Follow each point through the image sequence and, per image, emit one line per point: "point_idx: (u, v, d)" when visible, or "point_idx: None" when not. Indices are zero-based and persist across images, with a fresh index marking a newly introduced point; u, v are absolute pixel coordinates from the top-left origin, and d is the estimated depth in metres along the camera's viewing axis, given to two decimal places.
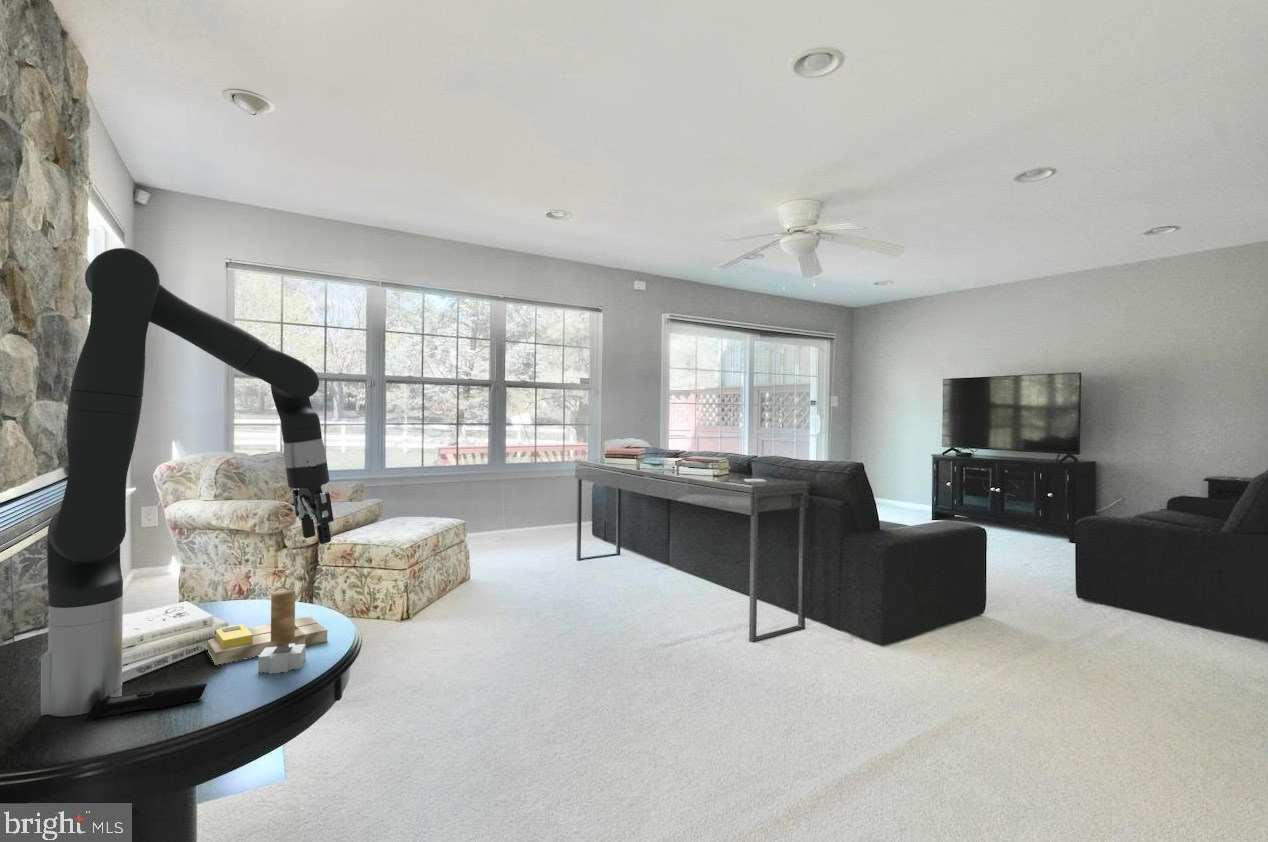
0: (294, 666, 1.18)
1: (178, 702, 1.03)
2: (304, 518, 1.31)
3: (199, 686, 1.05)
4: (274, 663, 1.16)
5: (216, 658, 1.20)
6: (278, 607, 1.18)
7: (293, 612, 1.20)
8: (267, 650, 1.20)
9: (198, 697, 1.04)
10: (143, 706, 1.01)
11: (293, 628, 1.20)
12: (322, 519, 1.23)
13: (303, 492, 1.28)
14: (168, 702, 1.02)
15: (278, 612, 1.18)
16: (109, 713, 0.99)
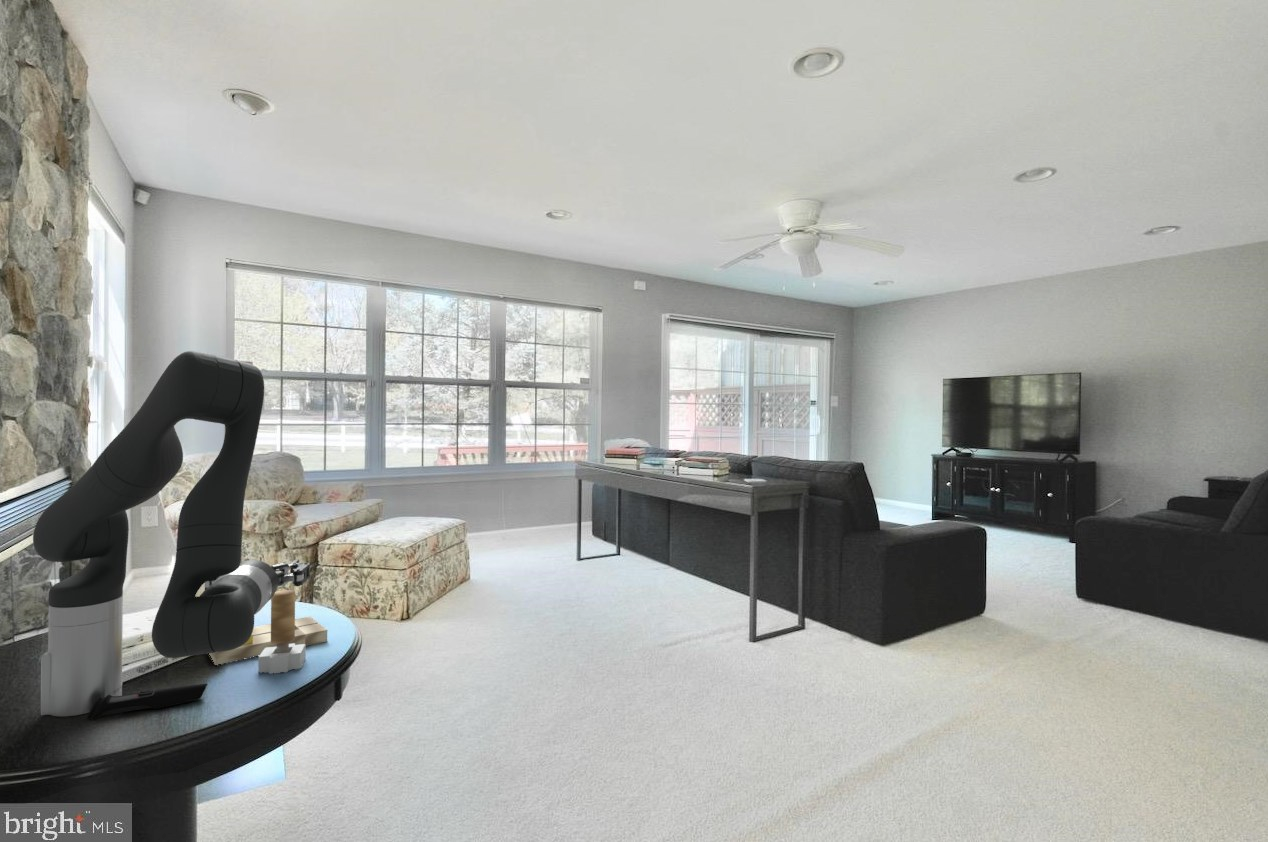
0: (294, 666, 1.18)
1: (178, 702, 1.03)
2: None
3: (199, 686, 1.05)
4: (274, 663, 1.16)
5: (216, 658, 1.20)
6: (278, 607, 1.18)
7: (293, 612, 1.20)
8: (267, 650, 1.20)
9: (198, 697, 1.04)
10: (144, 705, 1.01)
11: (293, 628, 1.20)
12: None
13: None
14: (168, 702, 1.02)
15: (278, 612, 1.18)
16: (110, 712, 0.99)
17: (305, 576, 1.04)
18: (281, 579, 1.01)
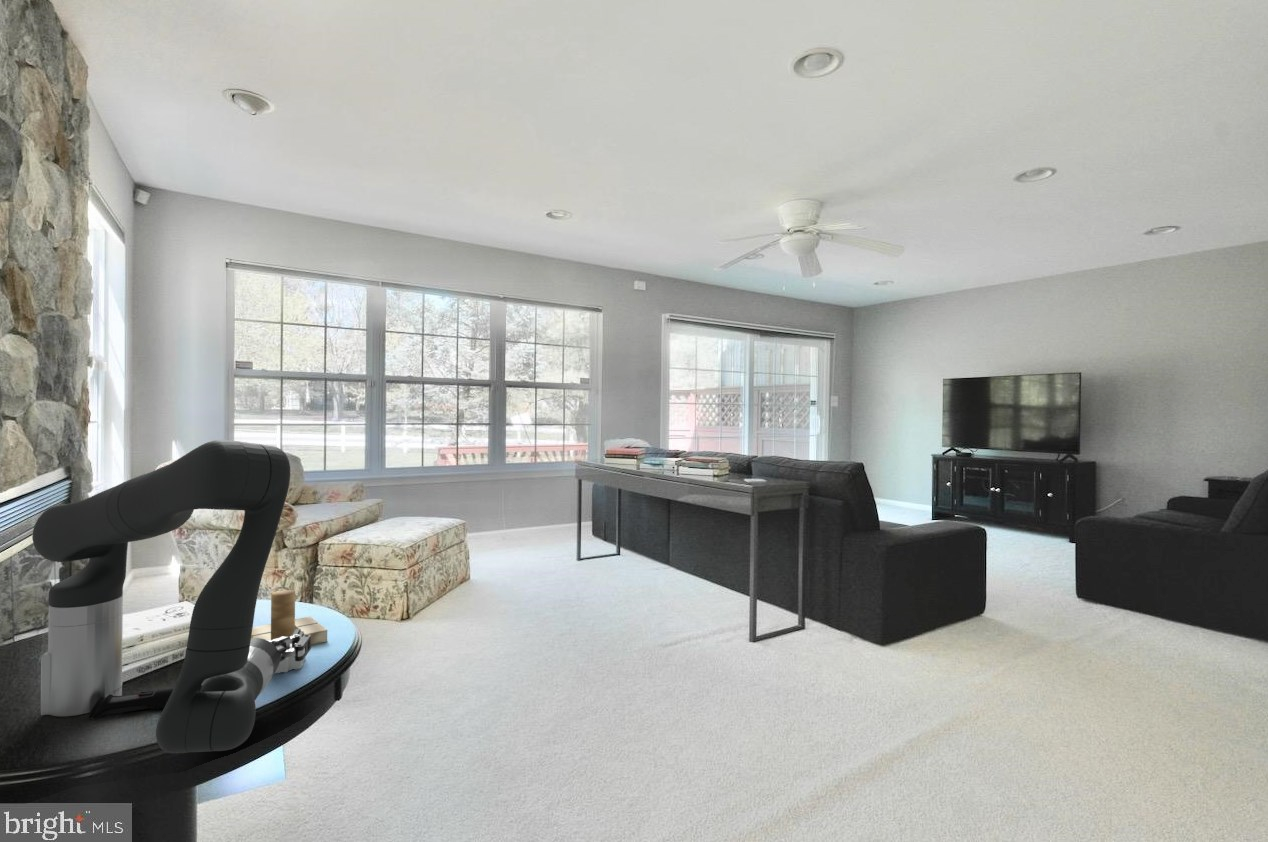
0: (294, 666, 1.18)
1: None
2: None
3: None
4: None
5: None
6: (278, 607, 1.18)
7: (293, 612, 1.20)
8: None
9: None
10: (144, 706, 1.01)
11: (293, 628, 1.20)
12: None
13: None
14: None
15: (278, 612, 1.18)
16: (110, 712, 1.00)
17: (306, 649, 1.07)
18: (283, 655, 1.03)
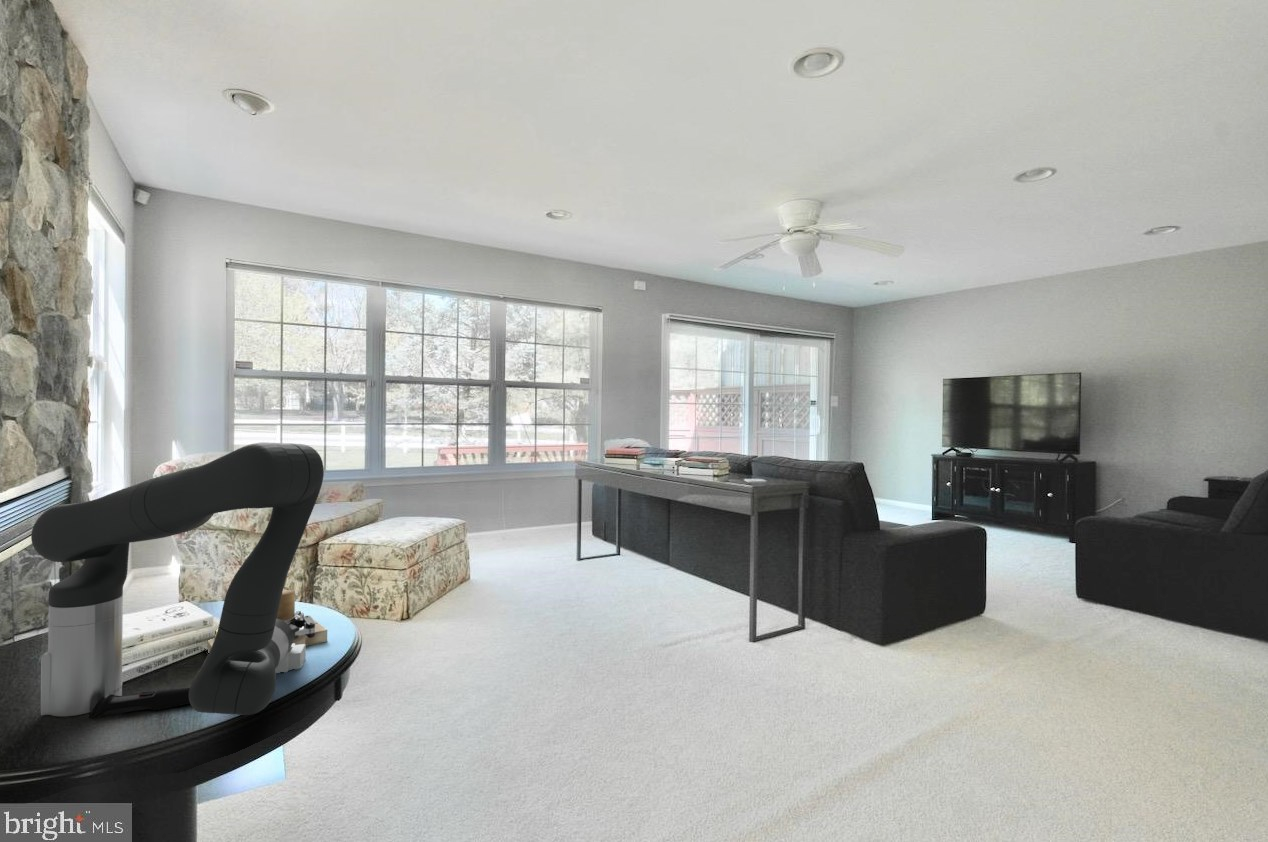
0: (294, 666, 1.18)
1: (178, 704, 1.02)
2: None
3: None
4: None
5: None
6: None
7: (293, 612, 1.20)
8: None
9: None
10: (144, 706, 1.01)
11: None
12: None
13: None
14: (168, 703, 1.02)
15: None
16: (111, 712, 1.00)
17: None
18: (297, 633, 1.14)
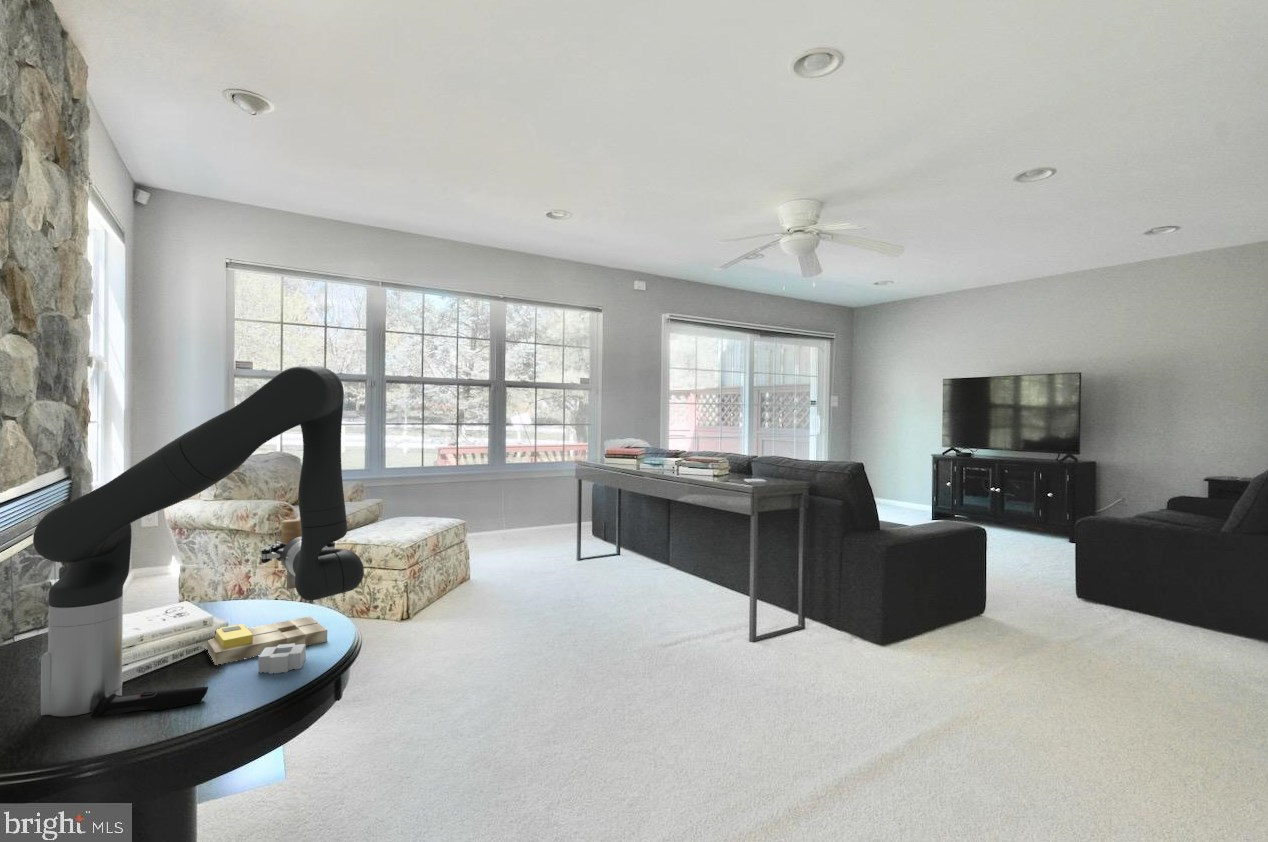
0: (294, 666, 1.18)
1: (178, 704, 1.02)
2: None
3: (200, 689, 1.04)
4: (274, 663, 1.16)
5: (216, 658, 1.20)
6: (292, 532, 1.30)
7: None
8: (267, 650, 1.20)
9: (198, 700, 1.03)
10: (145, 707, 1.01)
11: None
12: None
13: None
14: (169, 704, 1.02)
15: (291, 537, 1.30)
16: (113, 712, 1.00)
17: None
18: None
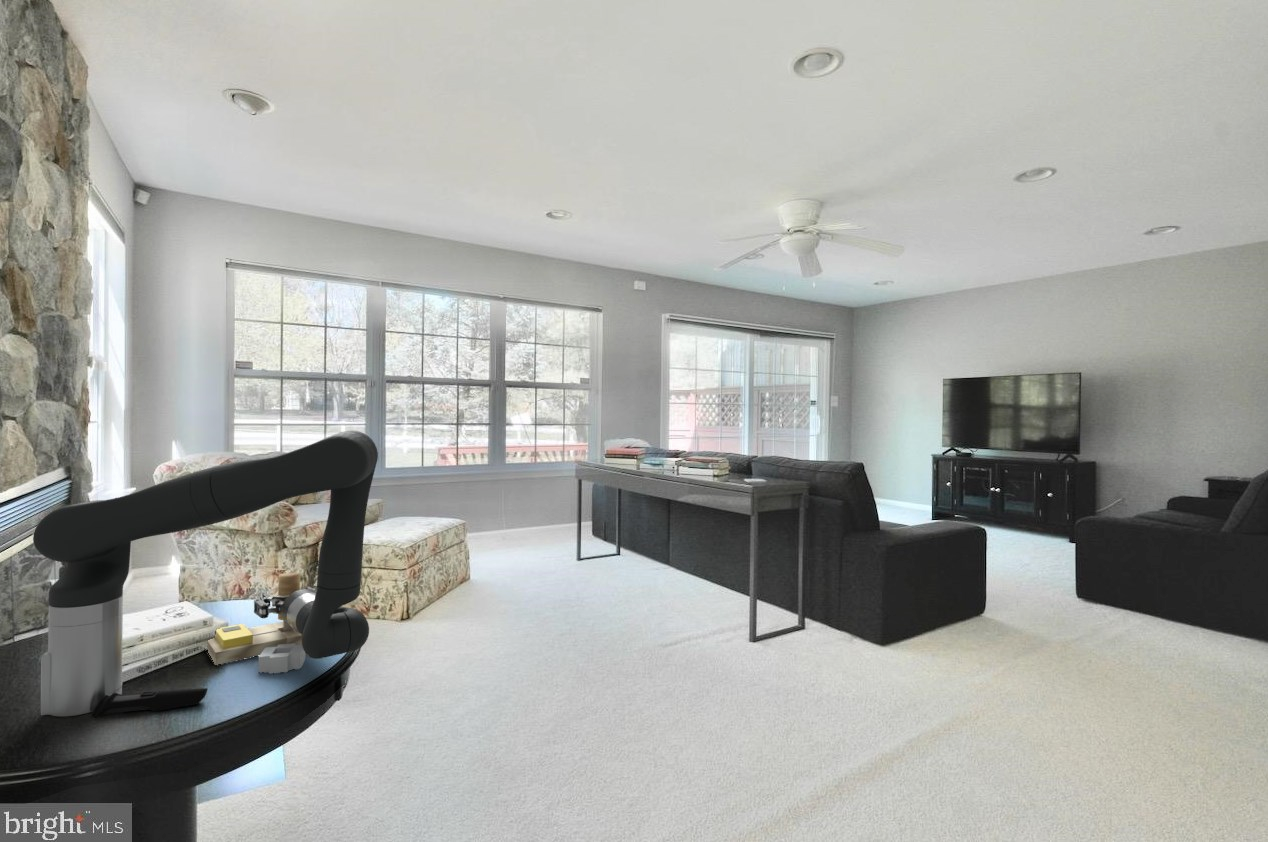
0: (294, 666, 1.18)
1: (177, 705, 1.02)
2: None
3: (199, 690, 1.03)
4: (274, 663, 1.16)
5: (216, 658, 1.20)
6: (290, 587, 1.32)
7: None
8: (267, 650, 1.20)
9: (196, 702, 1.03)
10: (144, 707, 1.01)
11: None
12: (254, 602, 1.26)
13: None
14: (167, 705, 1.01)
15: (289, 591, 1.32)
16: (113, 711, 1.00)
17: None
18: None
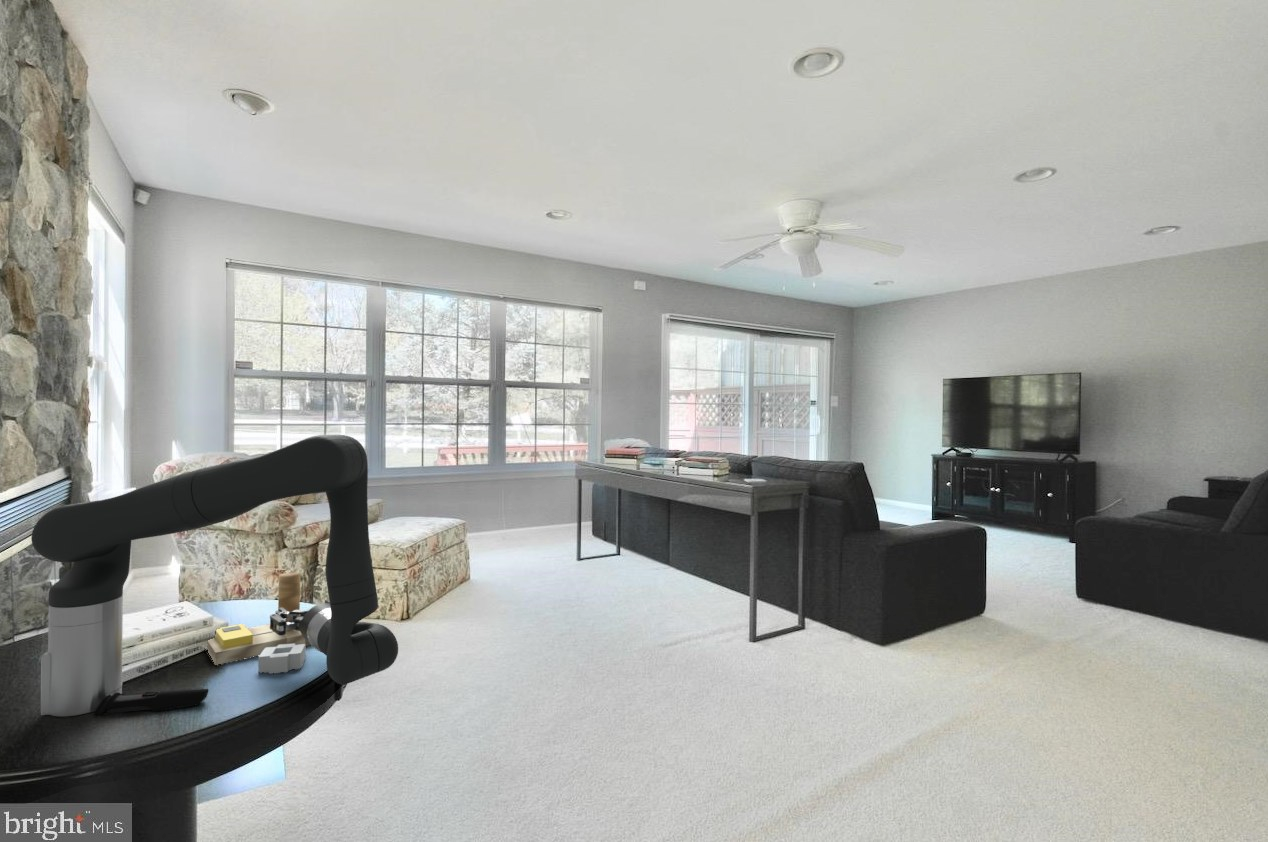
0: (294, 666, 1.18)
1: (178, 706, 1.02)
2: None
3: (200, 691, 1.03)
4: (274, 663, 1.16)
5: (216, 658, 1.20)
6: (290, 587, 1.32)
7: (299, 591, 1.34)
8: (267, 650, 1.20)
9: (197, 702, 1.03)
10: (146, 707, 1.01)
11: (299, 605, 1.35)
12: (270, 618, 1.17)
13: None
14: (168, 705, 1.01)
15: (289, 591, 1.32)
16: (115, 711, 1.00)
17: None
18: None
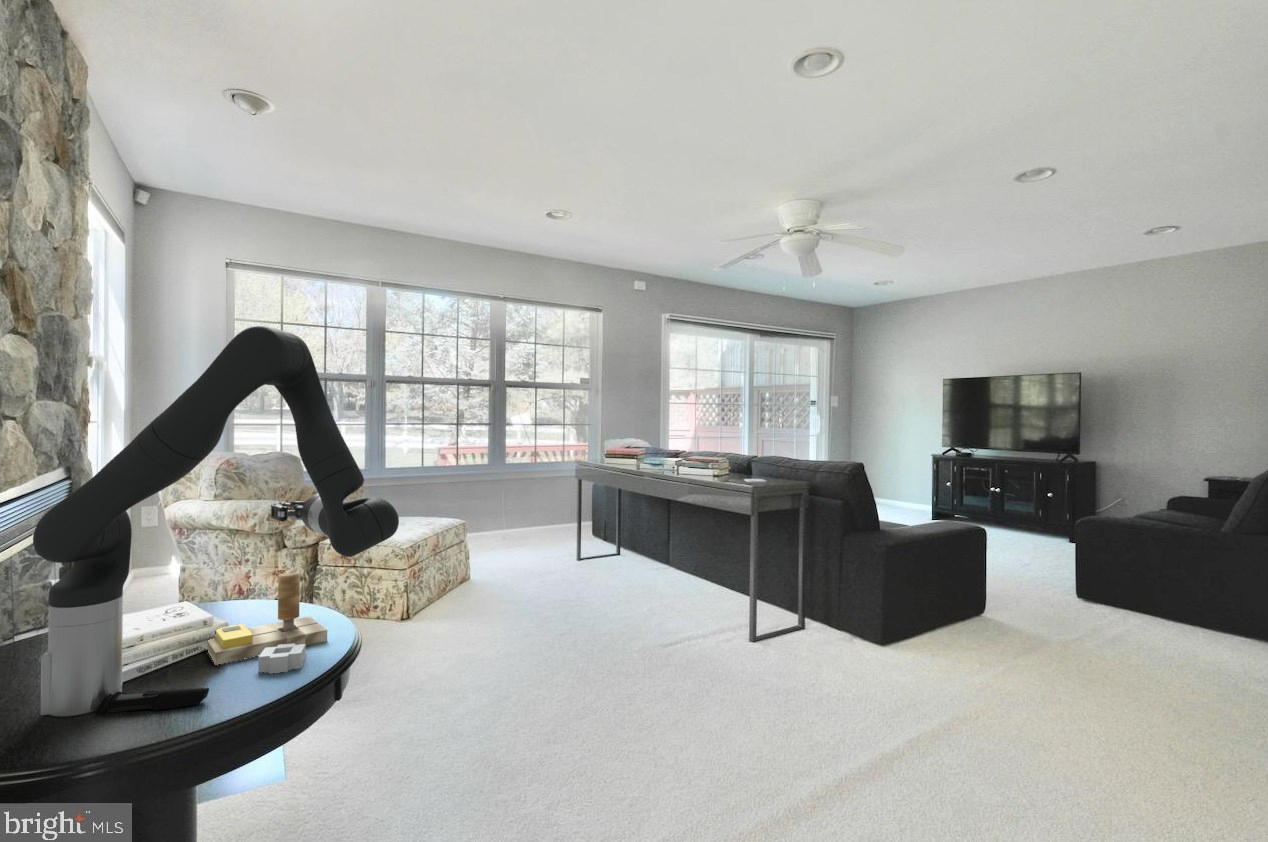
0: (294, 666, 1.18)
1: (178, 705, 1.02)
2: None
3: (200, 690, 1.03)
4: (274, 663, 1.16)
5: (216, 658, 1.20)
6: (289, 587, 1.32)
7: (299, 591, 1.34)
8: (267, 650, 1.20)
9: (198, 701, 1.03)
10: (146, 706, 1.01)
11: None
12: (271, 507, 1.17)
13: None
14: (169, 704, 1.01)
15: (289, 591, 1.32)
16: (116, 709, 1.00)
17: None
18: None
